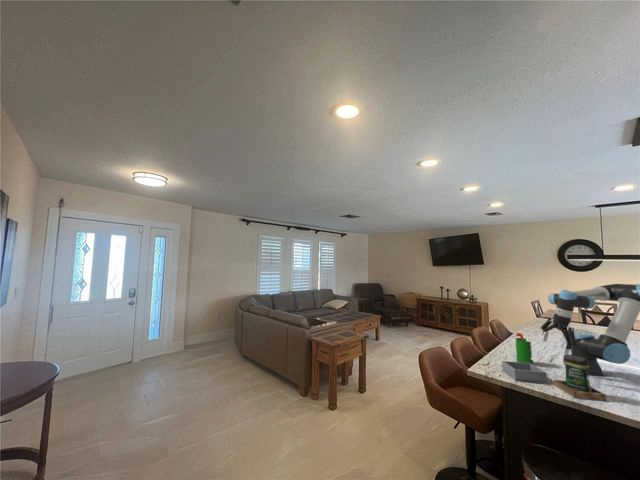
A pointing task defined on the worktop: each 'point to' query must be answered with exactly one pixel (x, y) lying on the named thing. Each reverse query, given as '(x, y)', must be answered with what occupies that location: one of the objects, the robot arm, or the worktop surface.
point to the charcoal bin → (524, 372)
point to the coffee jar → (577, 373)
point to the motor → (523, 350)
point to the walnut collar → (578, 394)
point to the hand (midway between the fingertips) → (554, 347)
